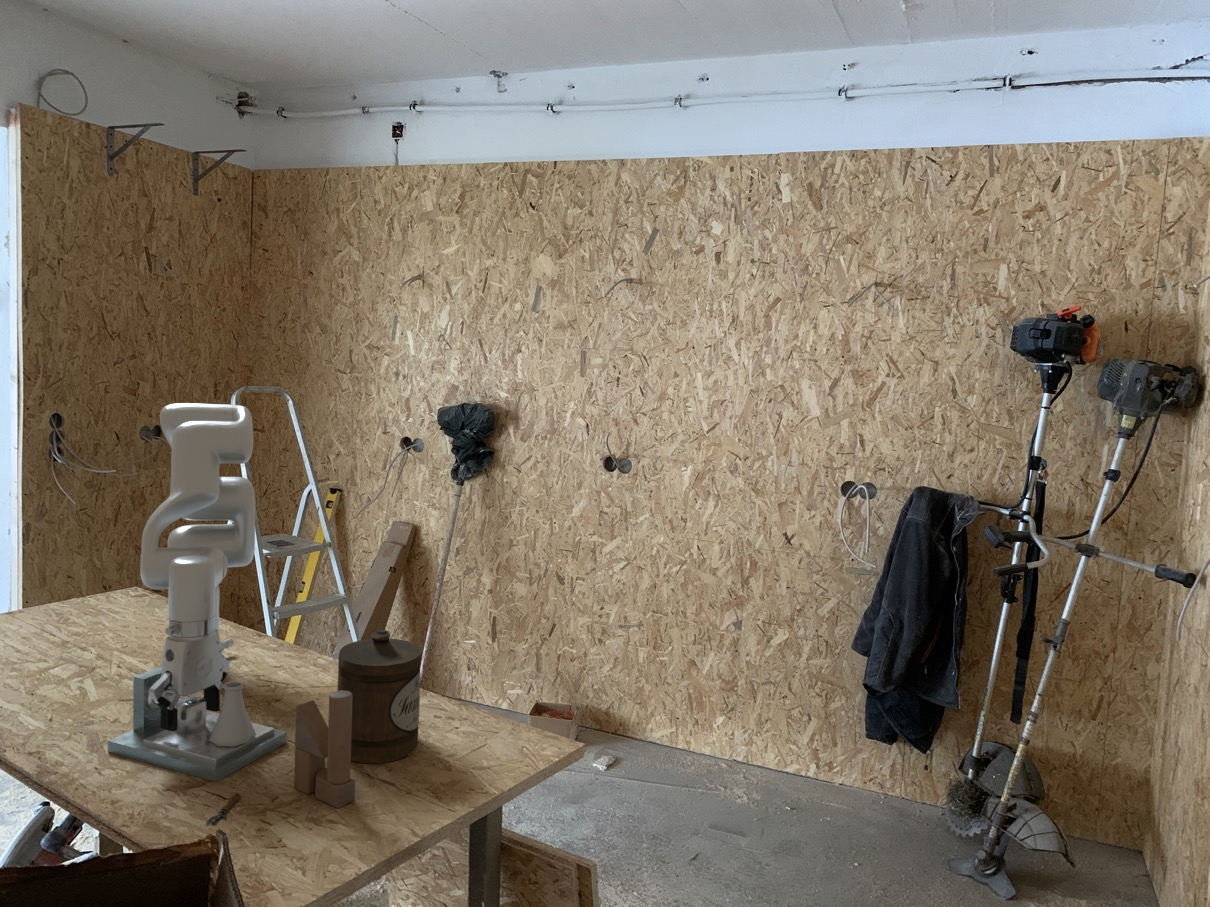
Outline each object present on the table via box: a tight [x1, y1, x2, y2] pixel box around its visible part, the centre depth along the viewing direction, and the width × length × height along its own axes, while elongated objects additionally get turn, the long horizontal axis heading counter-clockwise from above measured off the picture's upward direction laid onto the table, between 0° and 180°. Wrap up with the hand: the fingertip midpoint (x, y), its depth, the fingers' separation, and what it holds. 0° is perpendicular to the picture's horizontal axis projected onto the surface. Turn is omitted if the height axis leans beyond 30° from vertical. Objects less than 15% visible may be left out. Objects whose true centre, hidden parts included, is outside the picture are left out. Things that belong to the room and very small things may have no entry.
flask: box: [209, 680, 256, 747], centre depth 156 cm, size 7×7×10 cm
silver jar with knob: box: [175, 696, 207, 735], centre depth 160 cm, size 5×5×5 cm
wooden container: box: [336, 628, 422, 764], centre depth 163 cm, size 15×15×22 cm
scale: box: [107, 665, 288, 783], centre depth 159 cm, size 17×24×12 cm
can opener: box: [205, 792, 242, 827], centre depth 138 cm, size 9×2×1 cm, turn 172°
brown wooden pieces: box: [293, 690, 356, 809], centre depth 144 cm, size 4×11×18 cm, turn 57°
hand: (190, 719), depth 159 cm, fingers open, 9 cm apart
